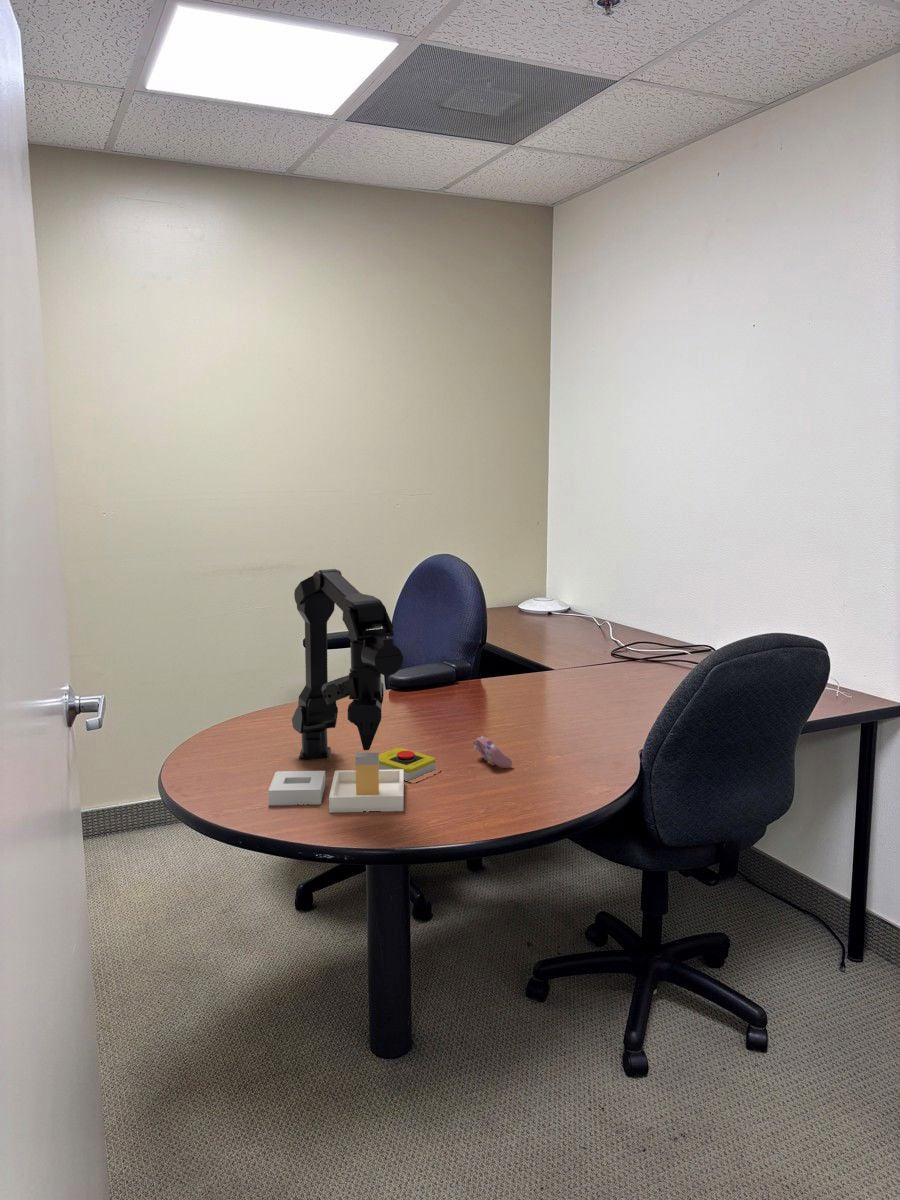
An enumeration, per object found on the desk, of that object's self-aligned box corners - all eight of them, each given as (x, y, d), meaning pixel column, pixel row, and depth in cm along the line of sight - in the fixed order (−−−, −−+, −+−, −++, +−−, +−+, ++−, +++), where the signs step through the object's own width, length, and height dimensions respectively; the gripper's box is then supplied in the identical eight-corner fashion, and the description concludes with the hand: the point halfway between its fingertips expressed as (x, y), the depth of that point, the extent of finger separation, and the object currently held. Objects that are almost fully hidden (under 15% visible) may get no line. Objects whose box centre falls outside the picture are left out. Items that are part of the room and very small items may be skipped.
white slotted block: (276, 785, 180) (275, 771, 179) (325, 784, 180) (325, 770, 180) (268, 805, 170) (268, 790, 169) (320, 804, 170) (320, 789, 170)
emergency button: (414, 766, 180) (361, 750, 189) (414, 786, 181) (362, 769, 190) (443, 754, 187) (391, 739, 196) (443, 773, 188) (391, 758, 197)
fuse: (357, 791, 175) (356, 752, 173) (379, 790, 175) (378, 752, 174) (356, 795, 172) (355, 757, 171) (378, 795, 173) (378, 756, 171)
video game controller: (479, 762, 197) (466, 737, 195) (496, 751, 198) (483, 726, 196) (497, 778, 188) (484, 752, 186) (515, 766, 189) (502, 740, 187)
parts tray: (335, 784, 180) (335, 770, 180) (403, 783, 181) (403, 769, 180) (329, 812, 167) (329, 797, 166) (403, 811, 167) (403, 796, 167)
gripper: (328, 653, 178) (330, 727, 180) (318, 677, 159) (321, 759, 162) (383, 652, 178) (384, 726, 181) (380, 676, 160) (381, 758, 163)
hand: (367, 742), depth 172 cm, fingers open, 9 cm apart
